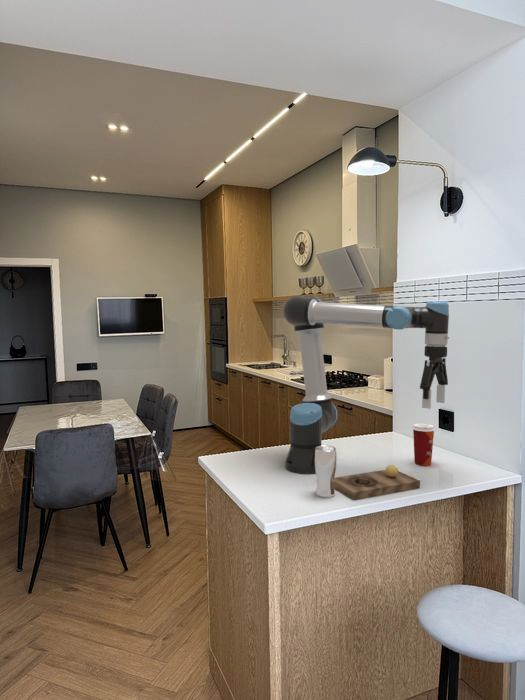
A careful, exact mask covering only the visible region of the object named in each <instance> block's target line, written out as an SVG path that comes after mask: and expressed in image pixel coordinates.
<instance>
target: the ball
mask: <svg viewBox="0 0 525 700" xmlns="http://www.w3.org/2000/svg"><path fill="white" fill-rule="evenodd" d="M385 470H386V473H387V475H388V476H390V477H395V476H396V475H397V474H398V471H399V469H398V467H397V466H396V465H394V464H389V465H388V466H387V467H386V469H385Z"/></svg>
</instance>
